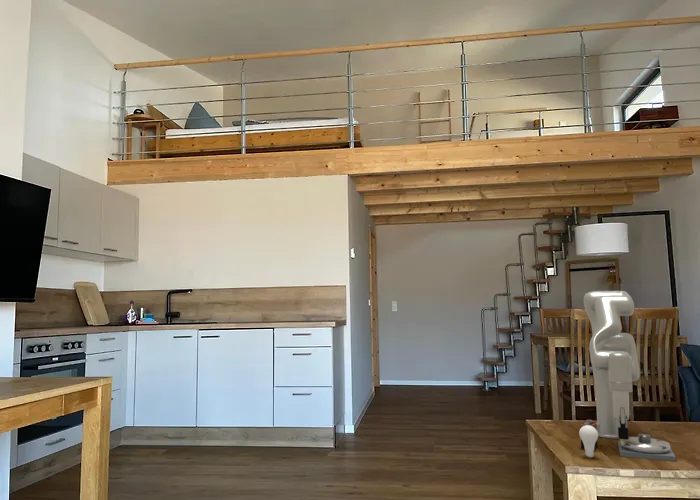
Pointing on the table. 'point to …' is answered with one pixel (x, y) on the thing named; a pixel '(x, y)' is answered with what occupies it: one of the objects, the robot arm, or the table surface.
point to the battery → (592, 426)
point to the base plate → (646, 454)
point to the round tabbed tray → (645, 444)
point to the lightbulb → (588, 439)
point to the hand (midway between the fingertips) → (623, 438)
